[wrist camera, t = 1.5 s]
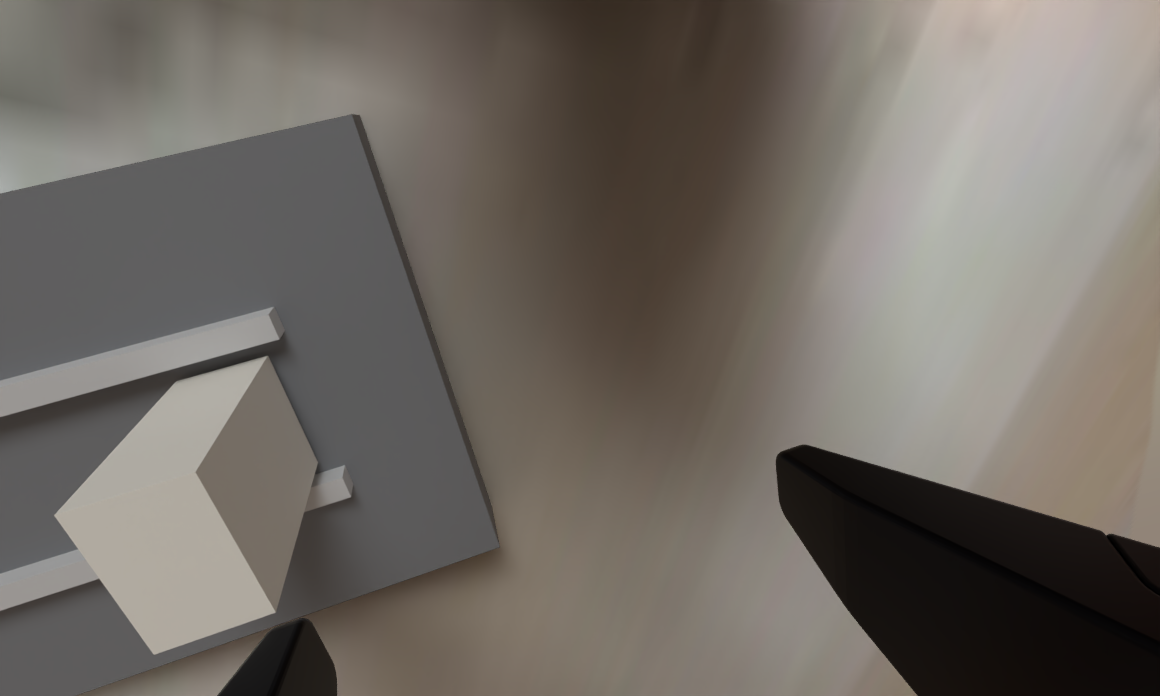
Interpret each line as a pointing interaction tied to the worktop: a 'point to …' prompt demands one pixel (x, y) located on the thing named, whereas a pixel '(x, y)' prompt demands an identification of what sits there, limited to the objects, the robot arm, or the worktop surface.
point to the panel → (207, 343)
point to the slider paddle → (198, 506)
